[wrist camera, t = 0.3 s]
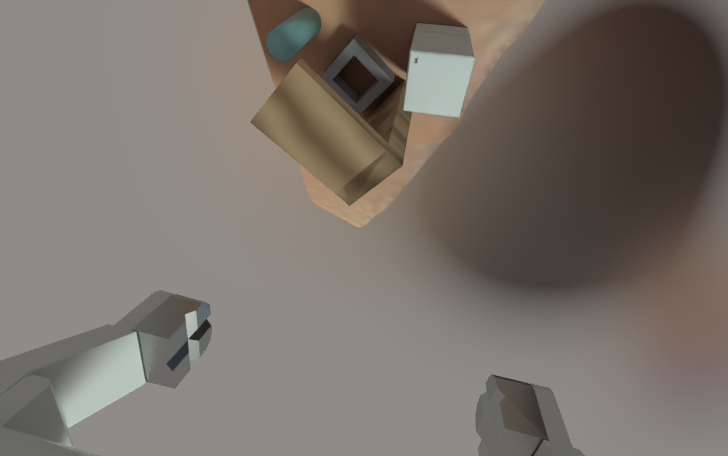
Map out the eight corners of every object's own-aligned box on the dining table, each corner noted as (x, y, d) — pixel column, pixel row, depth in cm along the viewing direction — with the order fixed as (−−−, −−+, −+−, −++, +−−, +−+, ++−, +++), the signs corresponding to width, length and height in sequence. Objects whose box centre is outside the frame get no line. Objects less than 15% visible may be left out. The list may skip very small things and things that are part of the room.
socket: (357, 33, 51) (353, 38, 49) (395, 74, 54) (393, 82, 52) (323, 72, 56) (318, 79, 54) (360, 109, 59) (356, 117, 57)
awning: (344, 13, 50) (296, 62, 34) (415, 91, 55) (402, 165, 40) (306, 60, 55) (250, 122, 39) (375, 127, 61) (349, 205, 45)
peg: (306, 0, 50) (276, 21, 41) (326, 21, 51) (300, 45, 42) (292, 21, 52) (260, 45, 43) (311, 40, 53) (283, 67, 44)
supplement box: (408, 76, 54) (400, 111, 45) (416, 21, 49) (409, 48, 40) (457, 82, 53) (459, 119, 44) (470, 27, 48) (476, 56, 39)
